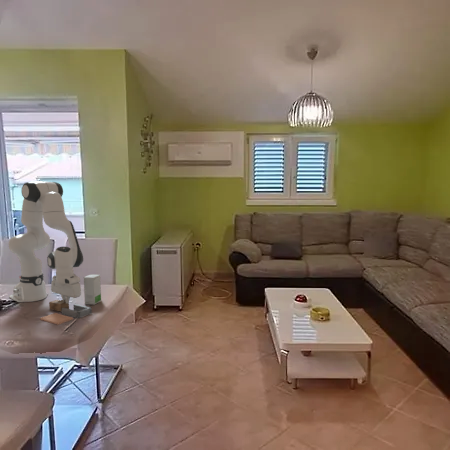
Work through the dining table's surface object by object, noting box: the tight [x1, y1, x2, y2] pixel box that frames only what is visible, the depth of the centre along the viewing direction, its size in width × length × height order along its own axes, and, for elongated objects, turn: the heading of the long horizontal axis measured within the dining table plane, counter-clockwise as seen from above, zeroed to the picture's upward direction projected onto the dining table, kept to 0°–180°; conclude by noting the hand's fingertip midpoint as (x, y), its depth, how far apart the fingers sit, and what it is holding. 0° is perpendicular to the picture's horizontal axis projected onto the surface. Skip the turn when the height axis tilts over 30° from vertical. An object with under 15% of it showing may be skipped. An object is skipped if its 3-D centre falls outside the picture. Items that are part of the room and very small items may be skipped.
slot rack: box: [61, 303, 93, 319], centre depth 218 cm, size 12×9×3 cm
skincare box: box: [83, 274, 102, 306], centre depth 236 cm, size 8×7×16 cm
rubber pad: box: [39, 312, 74, 326], centre depth 210 cm, size 14×9×1 cm, turn 59°
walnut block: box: [48, 299, 70, 313], centre depth 225 cm, size 10×5×6 cm, turn 58°
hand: (66, 302), depth 222 cm, fingers closed
